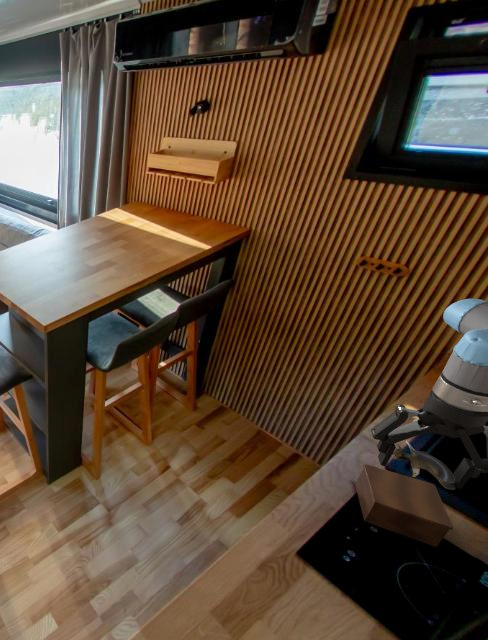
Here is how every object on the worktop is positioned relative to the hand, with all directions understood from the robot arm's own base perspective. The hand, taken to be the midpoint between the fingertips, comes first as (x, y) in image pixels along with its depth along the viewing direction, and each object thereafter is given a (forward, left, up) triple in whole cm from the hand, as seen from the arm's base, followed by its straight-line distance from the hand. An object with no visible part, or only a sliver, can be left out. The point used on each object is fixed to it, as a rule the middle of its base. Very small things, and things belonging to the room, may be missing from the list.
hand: (417, 471), depth 81 cm
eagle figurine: (0, 0, 0) cm, 1 cm away
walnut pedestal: (0, 0, -15) cm, 15 cm away
